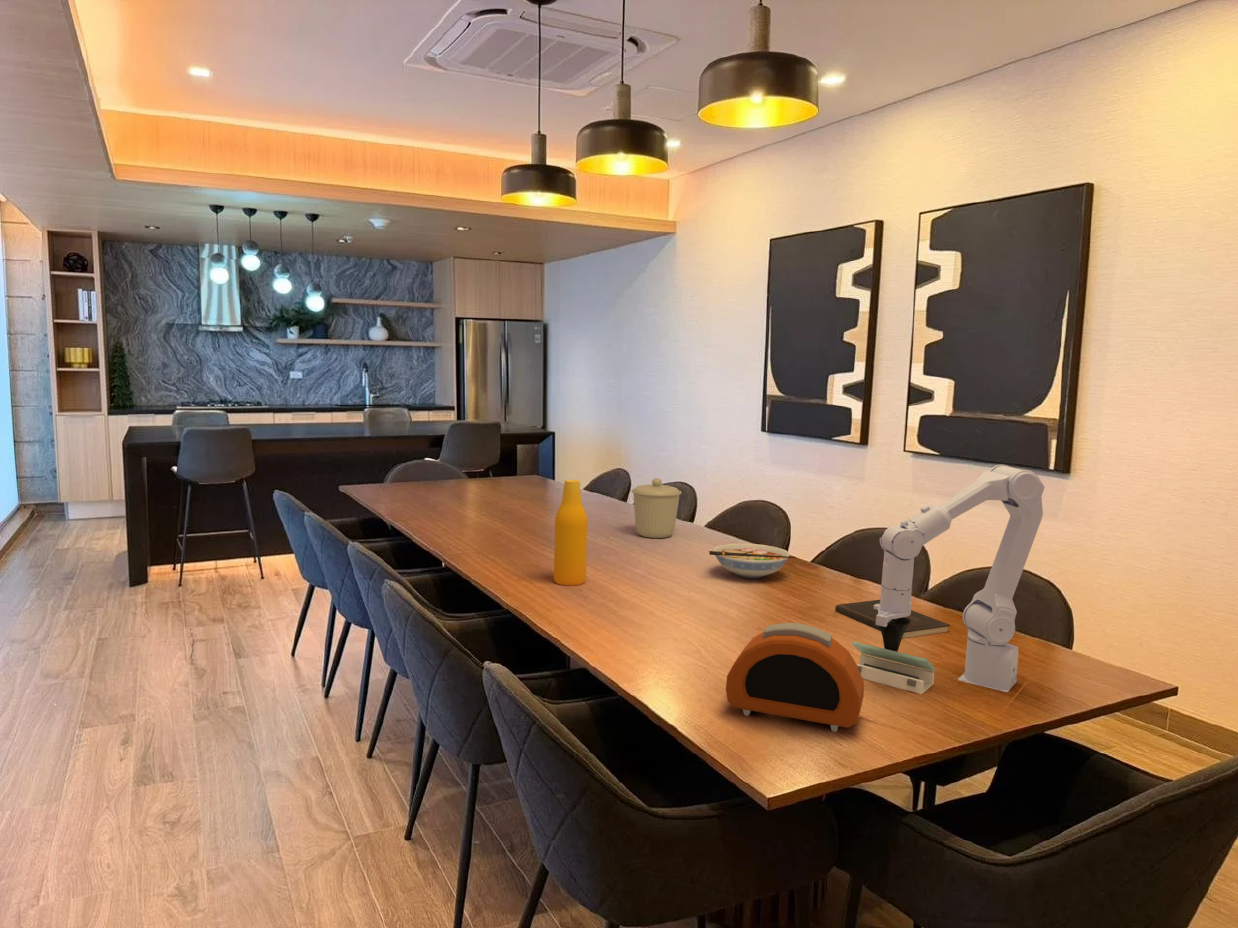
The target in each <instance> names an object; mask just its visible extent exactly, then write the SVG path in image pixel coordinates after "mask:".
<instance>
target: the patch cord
mask: <svg viewBox="0 0 1238 928" xmlns="http://www.w3.org/2000/svg"><path fill="white" fill-rule="evenodd" d="M863 665H864V666H868V667H872V668H876V669H880V670H884V671H888V672H892V673H895V674H899V675H903V676H907V677H911V678H915V679H919V677H916V676H912V675H908V674H904V673H900V672H896V671H892V670H888V669H885V668H881V667H877V666H873V665H869V664H865V663H864V664H863Z"/></svg>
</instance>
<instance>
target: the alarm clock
mask: <svg viewBox="0 0 1238 928" xmlns="http://www.w3.org/2000/svg"><path fill="white" fill-rule="evenodd" d="M857 664H858V663H857V662H856V661H855V660H854V657H853V656H852V654H851V653H850V651H848V649H847V648H846V647H844V646H843V645H842V644H841V643H840V642H839V641H837V640H836V639H834V638H833V635H832V634H831V633H829V632H827V631H825V630H823V629H820V628H818V627H814V626H811V625H807V624H804V623H800V622H799V623H798V622H797V623H795V622H786V623H785V622H784V623H783V622H781V623H776V624H771V625H768V626H766V628H764V631H763V632H761V633H759V634H757V635H755V636H754V637H752V639H751V640H750V641H749V642H748V643H747V644H746V645H745V646H744V648H743V650H742V651H741V652H740V654H739V655H738V657H737V658H736V659H735V661H734V663H733V665H732V666H731V668H730V670H729V671H728V673H727V675H726V682H725V693H726V699H727V702H728V703H729V704H730V705H731V706H732V707H733V709H734V708H735V709H740V710H742V712H743V715H744V716H745V717H749V716H750V714H751V712H758V713H761V714H767V715H773V716H779V717H785V718H789V719H790V718H791V719H796V720H803V721H808V722H814V723H819V724H824V725H829V726H830V729H831V732H835V733H837V731H838V728H839V727H840V728H841V727H842V728H847V729H848V728H850V727H852V726H854V725H857V723H858V719H859V717H860V714H861V708H862V705H863V701H864V693H865V691H864V690H865V689H864V688H865V681H864V679H862V676H861V674H860V671H859V669H858V666H857Z"/></svg>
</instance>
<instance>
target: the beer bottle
mask: <svg viewBox="0 0 1238 928" xmlns="http://www.w3.org/2000/svg"><path fill="white" fill-rule="evenodd" d="M587 547H588V516H587V513H586V509H585V508H584V506H583V503H582V494H581V483H580V480H579V479H566V480H564V483H563V491H562V499H561V503H560V505H559V507H558V509H557V512H556V514H555V519H554V548H553V549H554V552H553V553H554V554H553V555H554V557H553V558H554V559H553V561H554V562H553V580H554V582H556V584H557V585H560V586H567V587H572V586H573V587H574V586H580V585H583V584H585V582H586V580H587V556H588V555H587V549H588V548H587Z"/></svg>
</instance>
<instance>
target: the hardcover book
mask: <svg viewBox="0 0 1238 928" xmlns="http://www.w3.org/2000/svg"><path fill="white" fill-rule="evenodd" d="M875 604H880V599H874V600H866V601H865V600H864V601H857V602H856V601H855V602H849V603H848V602H847V603H841V604H836V606H835V608H834V611H835V613H838V614H840V615H842V616H845V617H847V618H849V619H852V620H853V621H856V622H859V623H861V624H863V625H866V626H868V627H871V628H872V629H875V630H877V631H879V632H881V630H880V627H879V625H876V615H878V610H877V609H874V605H875ZM903 618H908V619H910V620H911V621H910V624H909V625H908V627H907V628H906V630H905V632H904V634H903V637H902V639H907V638H908V639H909V638H914V637H915V638H916V637H920V636H921V637H922V636H927V635H935V634H941V633H948V632H949V627H951V624H949V623H947V622H945V621H941V620H939V619H936V618H933V617H931V616H928V615H925V614H922V613H921V612H918V611H916V610H915V611H914V610H913V609H911V614H910V616H907V617H903Z"/></svg>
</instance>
